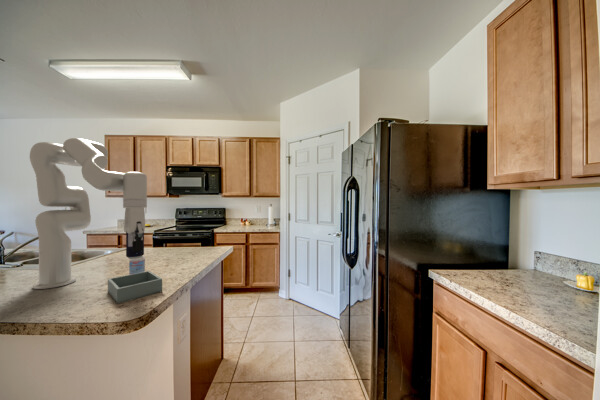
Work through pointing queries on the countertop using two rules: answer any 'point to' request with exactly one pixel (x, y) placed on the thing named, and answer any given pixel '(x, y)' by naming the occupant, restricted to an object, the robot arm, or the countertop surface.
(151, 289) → the box
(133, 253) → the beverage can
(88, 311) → the countertop surface
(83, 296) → the countertop surface
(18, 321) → the countertop surface
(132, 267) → the pill bottle
